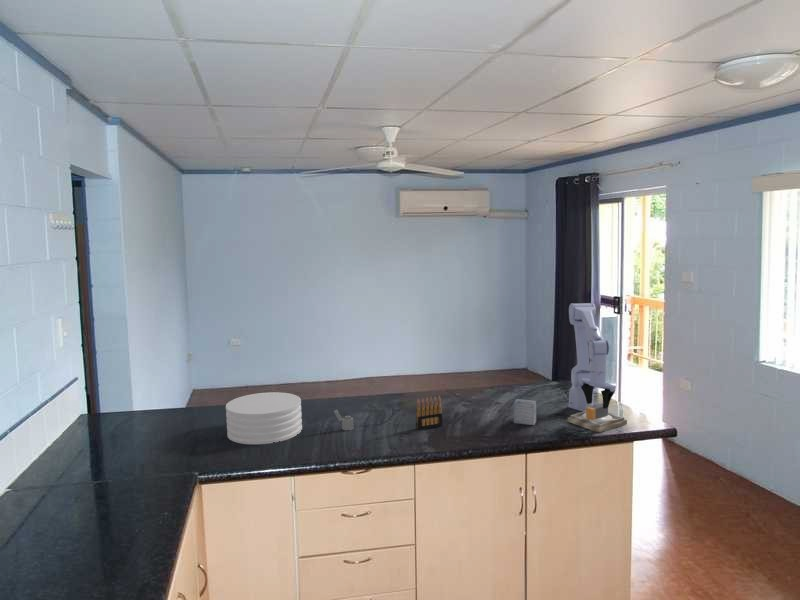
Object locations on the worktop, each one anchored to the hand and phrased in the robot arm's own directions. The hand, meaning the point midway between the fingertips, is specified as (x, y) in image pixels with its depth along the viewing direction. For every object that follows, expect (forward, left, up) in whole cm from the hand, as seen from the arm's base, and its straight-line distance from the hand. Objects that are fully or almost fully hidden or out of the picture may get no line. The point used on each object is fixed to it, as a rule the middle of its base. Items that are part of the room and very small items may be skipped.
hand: (597, 405), depth 224 cm
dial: (0, 0, -5) cm, 5 cm away
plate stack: (-69, -108, -7) cm, 128 cm away
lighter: (-52, -83, -7) cm, 98 cm away
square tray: (0, 0, -7) cm, 7 cm away
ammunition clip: (-35, -55, -7) cm, 65 cm away
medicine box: (-17, -22, -7) cm, 28 cm away
